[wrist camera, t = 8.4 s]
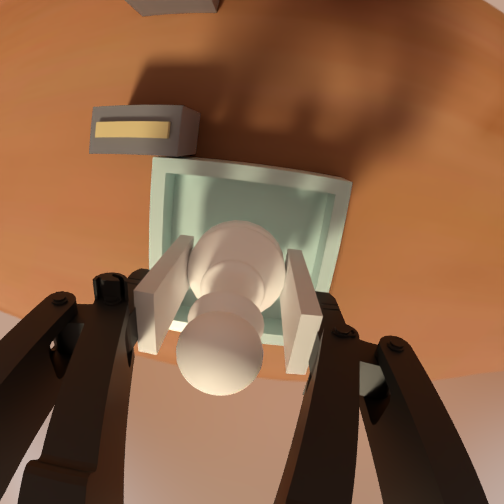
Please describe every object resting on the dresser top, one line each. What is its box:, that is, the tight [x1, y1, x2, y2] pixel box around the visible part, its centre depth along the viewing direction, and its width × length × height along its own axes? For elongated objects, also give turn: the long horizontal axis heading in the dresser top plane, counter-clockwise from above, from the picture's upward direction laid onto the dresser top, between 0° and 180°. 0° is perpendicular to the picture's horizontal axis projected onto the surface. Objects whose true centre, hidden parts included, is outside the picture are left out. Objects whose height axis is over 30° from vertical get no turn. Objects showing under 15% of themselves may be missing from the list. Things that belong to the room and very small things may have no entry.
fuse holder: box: [89, 0, 219, 157], centre depth 13 cm, size 5×12×4 cm, turn 173°
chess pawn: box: [176, 220, 286, 396], centre depth 12 cm, size 5×5×9 cm
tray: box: [149, 156, 353, 346], centre depth 18 cm, size 11×11×2 cm
